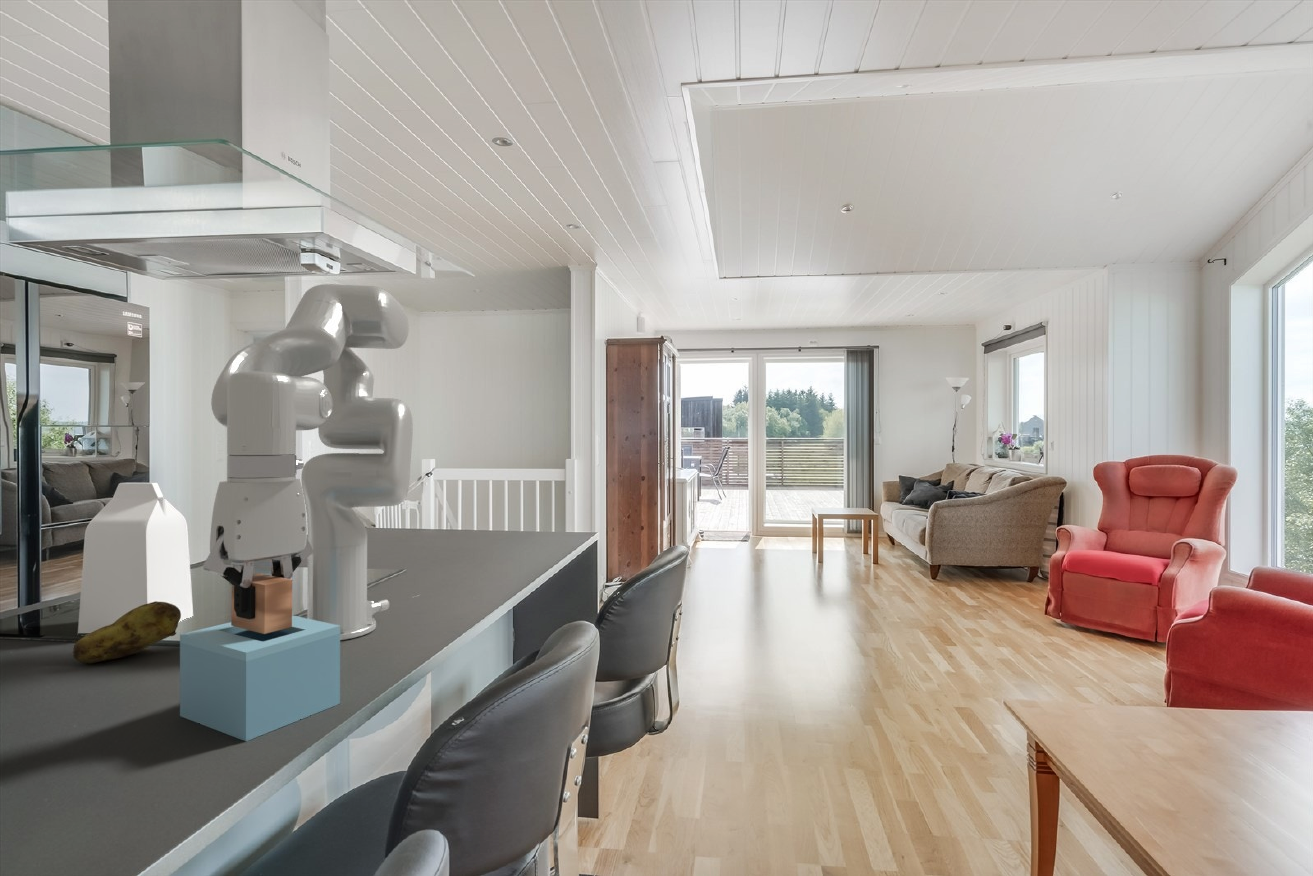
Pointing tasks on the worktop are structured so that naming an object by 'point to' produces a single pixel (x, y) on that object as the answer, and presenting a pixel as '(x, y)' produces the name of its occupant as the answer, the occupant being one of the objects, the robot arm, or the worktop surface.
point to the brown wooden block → (267, 605)
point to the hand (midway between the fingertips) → (261, 612)
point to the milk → (134, 557)
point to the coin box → (258, 676)
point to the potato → (129, 633)
